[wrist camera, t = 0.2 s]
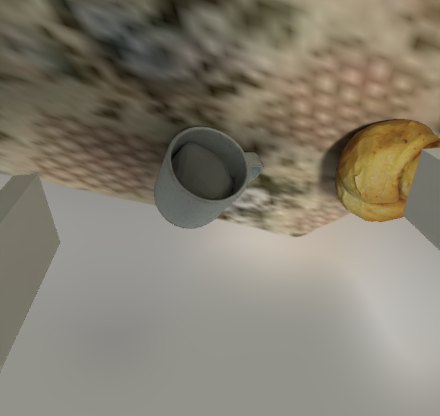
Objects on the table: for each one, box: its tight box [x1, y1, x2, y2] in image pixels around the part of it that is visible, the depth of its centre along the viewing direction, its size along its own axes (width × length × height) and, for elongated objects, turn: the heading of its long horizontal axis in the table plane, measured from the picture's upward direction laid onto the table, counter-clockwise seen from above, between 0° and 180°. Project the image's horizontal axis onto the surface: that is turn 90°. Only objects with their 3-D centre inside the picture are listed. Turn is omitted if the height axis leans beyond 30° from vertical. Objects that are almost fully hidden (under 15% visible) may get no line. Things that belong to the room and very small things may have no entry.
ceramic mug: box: [154, 126, 264, 228], centre depth 34 cm, size 11×8×8 cm
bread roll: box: [335, 119, 440, 222], centre depth 34 cm, size 13×10×8 cm
